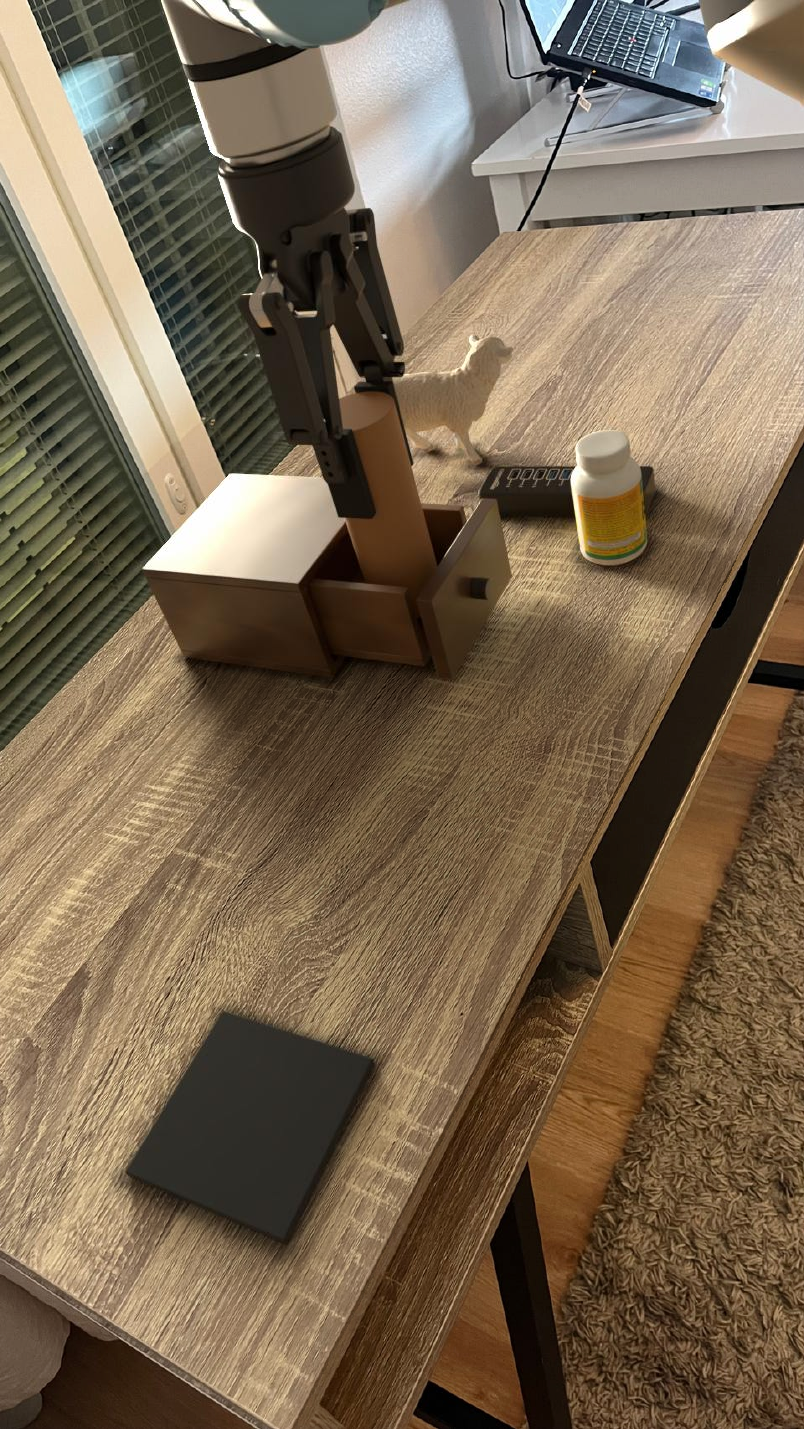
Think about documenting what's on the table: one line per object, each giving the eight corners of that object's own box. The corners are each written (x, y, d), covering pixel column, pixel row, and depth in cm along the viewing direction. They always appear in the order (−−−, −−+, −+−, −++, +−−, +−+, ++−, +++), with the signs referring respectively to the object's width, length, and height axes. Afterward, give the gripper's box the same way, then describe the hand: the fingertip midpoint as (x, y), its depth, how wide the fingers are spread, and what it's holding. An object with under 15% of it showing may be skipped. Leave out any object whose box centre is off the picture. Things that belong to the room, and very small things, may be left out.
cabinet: (405, 571, 91) (379, 479, 85) (332, 678, 83) (298, 584, 77) (263, 559, 98) (230, 473, 92) (183, 657, 90) (141, 569, 84)
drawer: (526, 577, 85) (511, 499, 80) (467, 682, 78) (447, 602, 73) (365, 564, 92) (343, 491, 87) (297, 659, 84) (268, 585, 79)
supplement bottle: (570, 543, 88) (554, 440, 82) (629, 521, 89) (618, 416, 83) (598, 576, 84) (583, 470, 78) (660, 552, 85) (650, 445, 78)
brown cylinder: (454, 579, 83) (407, 390, 73) (426, 625, 80) (372, 433, 70) (391, 574, 86) (337, 391, 75) (361, 618, 83) (299, 432, 72)
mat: (375, 1063, 58) (372, 1058, 58) (287, 1245, 52) (283, 1240, 52) (226, 1015, 62) (222, 1009, 62) (128, 1177, 56) (124, 1172, 56)
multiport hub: (645, 518, 89) (642, 495, 87) (481, 515, 95) (476, 493, 93) (656, 488, 91) (654, 465, 90) (496, 487, 97) (492, 465, 96)
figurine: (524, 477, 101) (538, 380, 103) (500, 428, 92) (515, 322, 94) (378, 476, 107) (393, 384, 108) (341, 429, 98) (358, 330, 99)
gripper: (298, 97, 69) (386, 422, 84) (133, 212, 58) (269, 564, 73) (401, 80, 65) (473, 423, 80) (247, 200, 54) (365, 572, 69)
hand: (376, 489), depth 77 cm, fingers closed on brown cylinder, 6 cm apart
